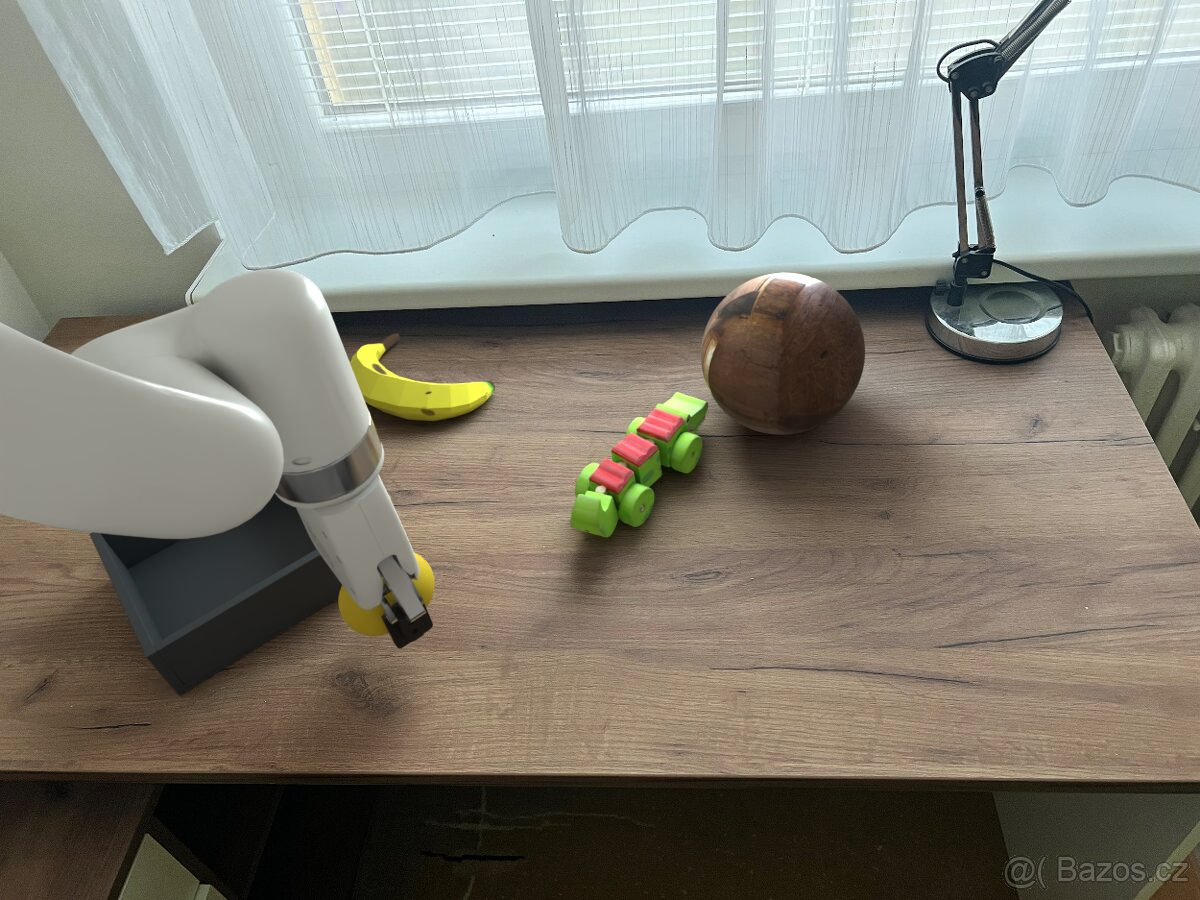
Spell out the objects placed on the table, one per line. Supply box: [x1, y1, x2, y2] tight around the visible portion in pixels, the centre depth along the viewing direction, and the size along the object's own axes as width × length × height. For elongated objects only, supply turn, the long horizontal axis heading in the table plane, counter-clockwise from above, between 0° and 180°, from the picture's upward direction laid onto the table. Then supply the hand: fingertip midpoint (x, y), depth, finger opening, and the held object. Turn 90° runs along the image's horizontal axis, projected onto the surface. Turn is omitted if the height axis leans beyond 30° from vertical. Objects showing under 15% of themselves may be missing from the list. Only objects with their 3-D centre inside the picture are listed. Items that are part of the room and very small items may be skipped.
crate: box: [89, 493, 342, 697], centre depth 77 cm, size 18×17×6 cm
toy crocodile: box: [570, 391, 709, 538], centre depth 80 cm, size 20×7×6 cm, turn 142°
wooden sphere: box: [700, 272, 866, 436], centre depth 82 cm, size 15×15×15 cm
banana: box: [348, 332, 496, 422], centre depth 95 cm, size 5×17×15 cm
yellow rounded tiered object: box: [337, 551, 436, 637], centre depth 68 cm, size 8×6×6 cm
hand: (394, 609), depth 70 cm, fingers closed on yellow rounded tiered object, 5 cm apart
